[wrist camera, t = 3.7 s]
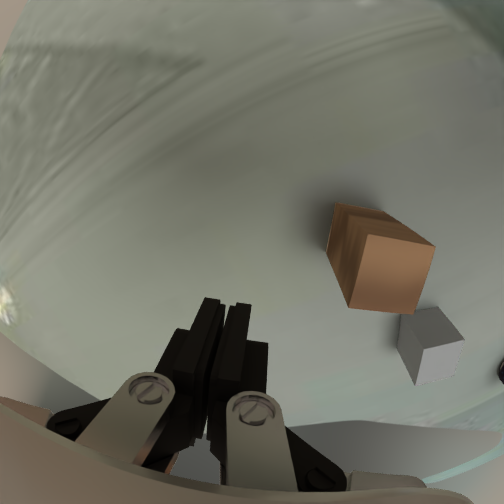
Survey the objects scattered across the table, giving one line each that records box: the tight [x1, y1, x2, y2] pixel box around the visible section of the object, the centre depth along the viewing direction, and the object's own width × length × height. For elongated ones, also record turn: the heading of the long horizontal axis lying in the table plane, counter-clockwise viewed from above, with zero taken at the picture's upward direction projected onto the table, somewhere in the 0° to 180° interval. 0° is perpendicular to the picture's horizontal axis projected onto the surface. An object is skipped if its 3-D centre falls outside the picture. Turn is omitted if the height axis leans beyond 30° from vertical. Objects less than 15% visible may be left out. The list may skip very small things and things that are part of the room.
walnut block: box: [326, 202, 435, 315], centre depth 23 cm, size 5×5×11 cm
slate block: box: [397, 307, 465, 386], centre depth 28 cm, size 5×5×7 cm
